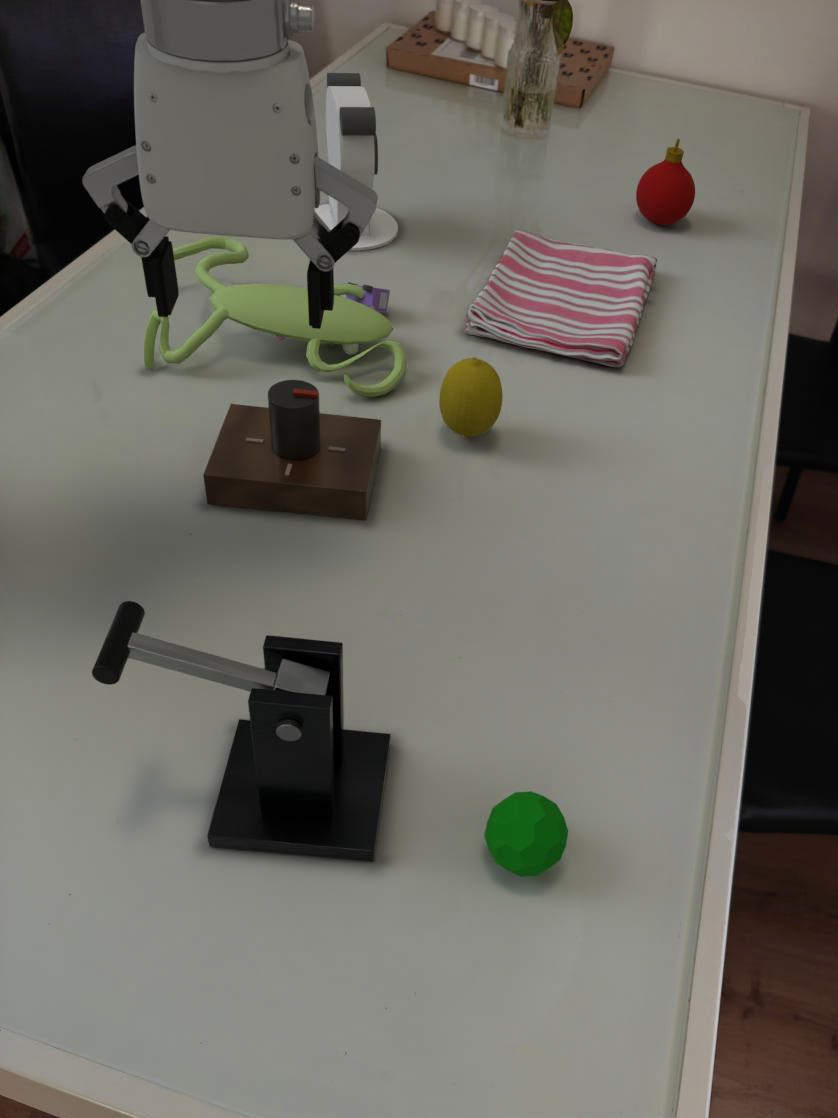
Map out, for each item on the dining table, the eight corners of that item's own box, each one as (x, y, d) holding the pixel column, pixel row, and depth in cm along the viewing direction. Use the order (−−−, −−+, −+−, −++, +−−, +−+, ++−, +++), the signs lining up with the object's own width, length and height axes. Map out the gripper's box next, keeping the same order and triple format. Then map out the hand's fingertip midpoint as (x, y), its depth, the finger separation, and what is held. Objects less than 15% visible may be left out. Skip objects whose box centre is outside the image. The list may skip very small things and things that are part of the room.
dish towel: (458, 339, 104) (461, 307, 102) (514, 242, 120) (518, 212, 118) (622, 376, 102) (629, 345, 100) (657, 273, 118) (664, 243, 115)
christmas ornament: (681, 240, 124) (702, 156, 117) (625, 227, 125) (642, 142, 118) (692, 217, 129) (712, 134, 122) (637, 204, 130) (654, 122, 123)
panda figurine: (407, 252, 116) (413, 112, 105) (306, 254, 113) (301, 111, 103) (388, 204, 124) (392, 69, 113) (293, 206, 121) (288, 68, 110)
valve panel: (206, 504, 83) (202, 472, 81) (233, 432, 90) (230, 401, 88) (366, 520, 84) (366, 490, 82) (380, 447, 91) (381, 417, 88)
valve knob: (267, 457, 83) (262, 401, 80) (276, 428, 86) (272, 373, 82) (316, 462, 84) (314, 407, 80) (323, 433, 86) (322, 379, 82)
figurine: (177, 273, 108) (170, 221, 104) (427, 309, 108) (430, 258, 104) (113, 366, 96) (103, 311, 91) (396, 408, 95) (398, 354, 91)
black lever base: (208, 846, 62) (185, 725, 53) (240, 730, 68) (224, 604, 60) (373, 862, 62) (377, 744, 54) (390, 744, 69) (395, 621, 60)
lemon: (444, 413, 95) (450, 336, 89) (502, 425, 95) (512, 348, 89) (430, 448, 91) (435, 369, 86) (490, 460, 91) (500, 382, 85)
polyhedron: (522, 807, 66) (531, 763, 63) (577, 858, 64) (590, 815, 60) (465, 850, 63) (471, 807, 60) (520, 905, 61) (530, 863, 58)
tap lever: (89, 686, 55) (93, 658, 53) (116, 619, 58) (121, 591, 56) (309, 745, 57) (320, 720, 56) (323, 678, 61) (334, 653, 59)
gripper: (383, 12, 58) (379, 294, 70) (70, -17, 57) (123, 274, 69) (373, 58, 53) (371, 353, 65) (29, 26, 52) (94, 332, 64)
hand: (243, 312), depth 67 cm, fingers open, 9 cm apart
